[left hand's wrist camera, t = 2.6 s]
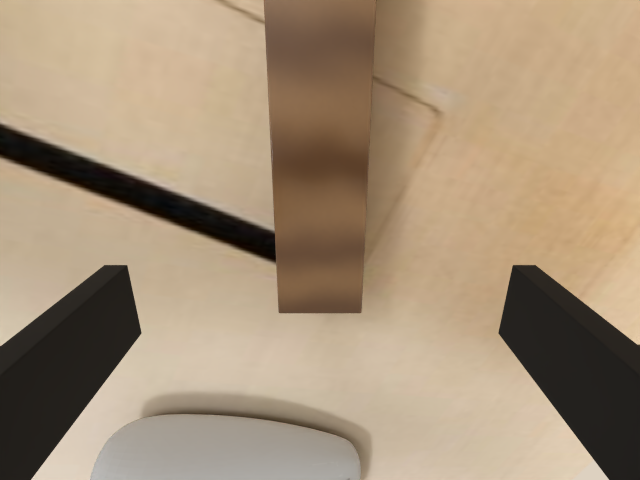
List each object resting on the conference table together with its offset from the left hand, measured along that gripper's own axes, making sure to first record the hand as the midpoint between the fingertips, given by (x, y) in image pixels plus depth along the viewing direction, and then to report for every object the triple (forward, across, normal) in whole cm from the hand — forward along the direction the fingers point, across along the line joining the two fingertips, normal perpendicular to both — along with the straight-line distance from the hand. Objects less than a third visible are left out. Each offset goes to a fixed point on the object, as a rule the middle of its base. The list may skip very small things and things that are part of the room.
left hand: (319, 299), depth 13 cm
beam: (+16, 0, -30) cm, 34 cm away
